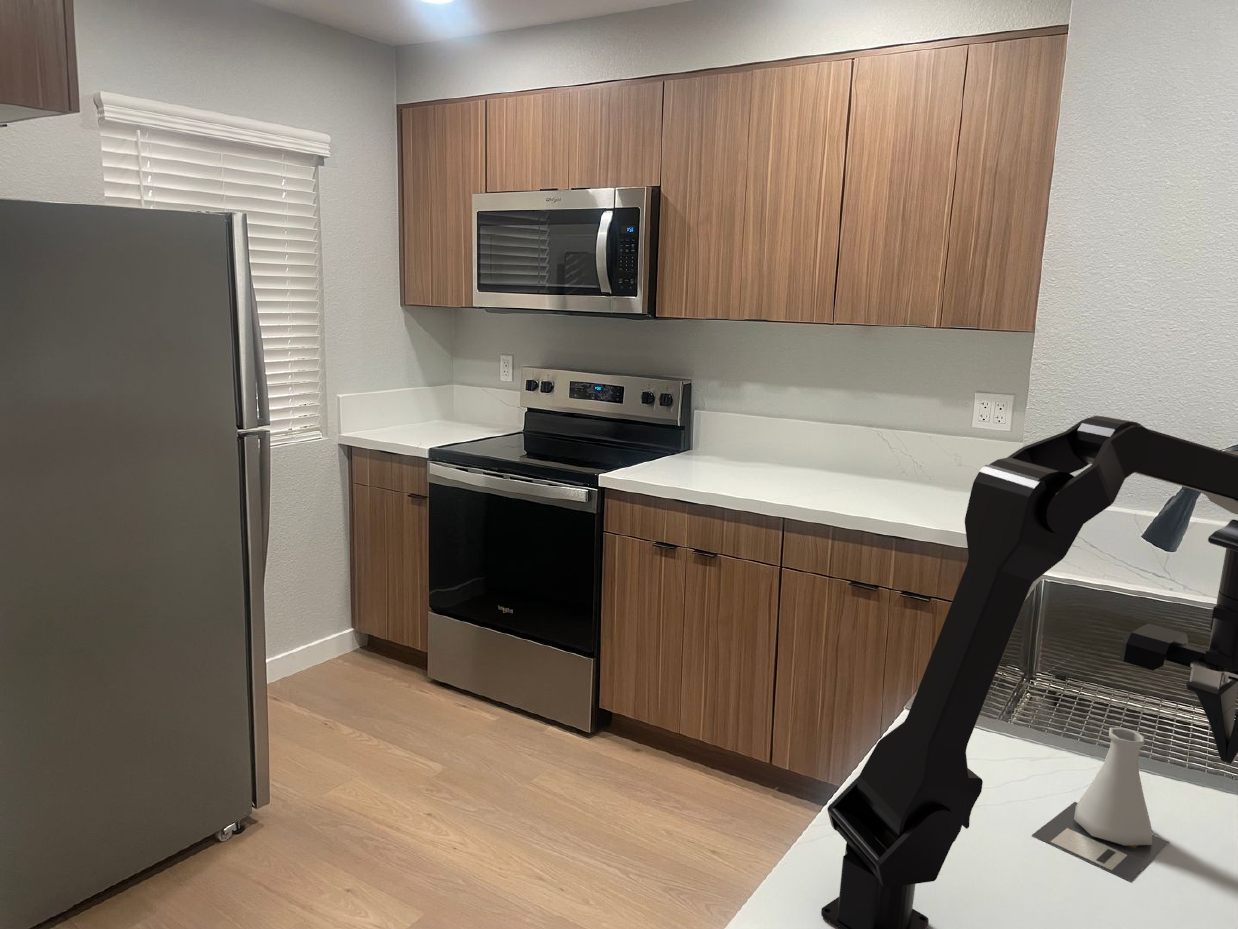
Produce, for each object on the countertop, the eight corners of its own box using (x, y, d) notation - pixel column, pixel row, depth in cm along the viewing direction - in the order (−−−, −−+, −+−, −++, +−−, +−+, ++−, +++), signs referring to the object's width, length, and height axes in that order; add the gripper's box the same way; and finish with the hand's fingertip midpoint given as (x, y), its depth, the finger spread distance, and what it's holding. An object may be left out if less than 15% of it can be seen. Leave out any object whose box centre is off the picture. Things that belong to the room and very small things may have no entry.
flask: (1165, 854, 87) (1182, 757, 85) (1084, 842, 88) (1098, 746, 86) (1138, 813, 94) (1153, 723, 92) (1063, 803, 95) (1076, 713, 93)
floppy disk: (1130, 881, 82) (1130, 879, 82) (1031, 835, 89) (1032, 834, 89) (1169, 842, 89) (1169, 840, 89) (1074, 802, 95) (1074, 800, 95)
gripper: (1411, 610, 78) (1375, 777, 81) (1172, 558, 92) (1148, 702, 95) (1385, 637, 71) (1347, 819, 74) (1130, 576, 85) (1106, 731, 87)
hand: (1227, 761), depth 83 cm, fingers closed
